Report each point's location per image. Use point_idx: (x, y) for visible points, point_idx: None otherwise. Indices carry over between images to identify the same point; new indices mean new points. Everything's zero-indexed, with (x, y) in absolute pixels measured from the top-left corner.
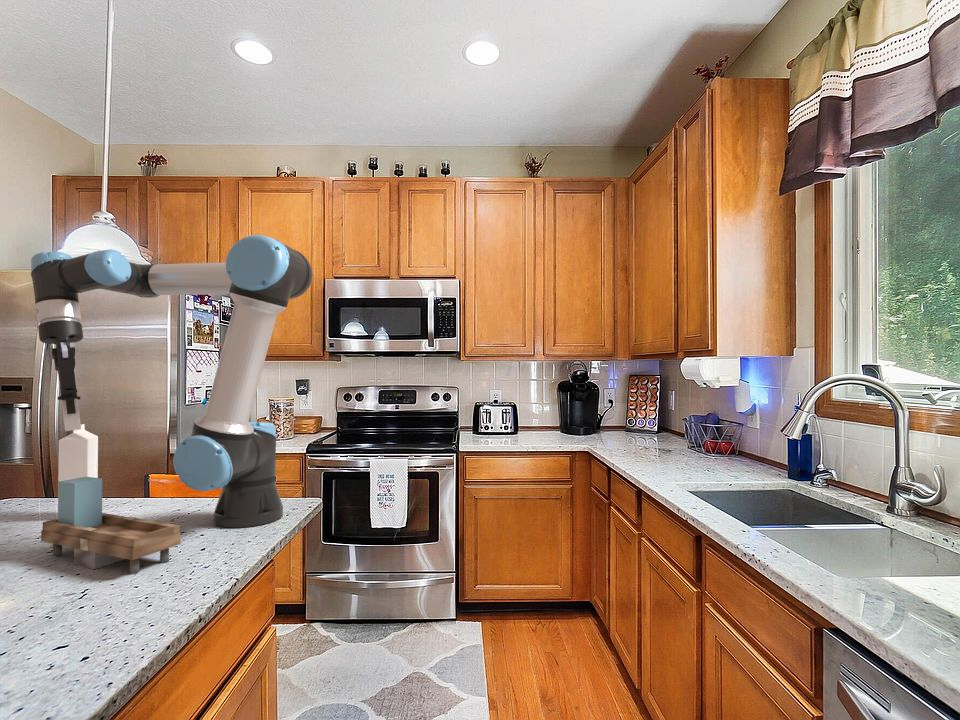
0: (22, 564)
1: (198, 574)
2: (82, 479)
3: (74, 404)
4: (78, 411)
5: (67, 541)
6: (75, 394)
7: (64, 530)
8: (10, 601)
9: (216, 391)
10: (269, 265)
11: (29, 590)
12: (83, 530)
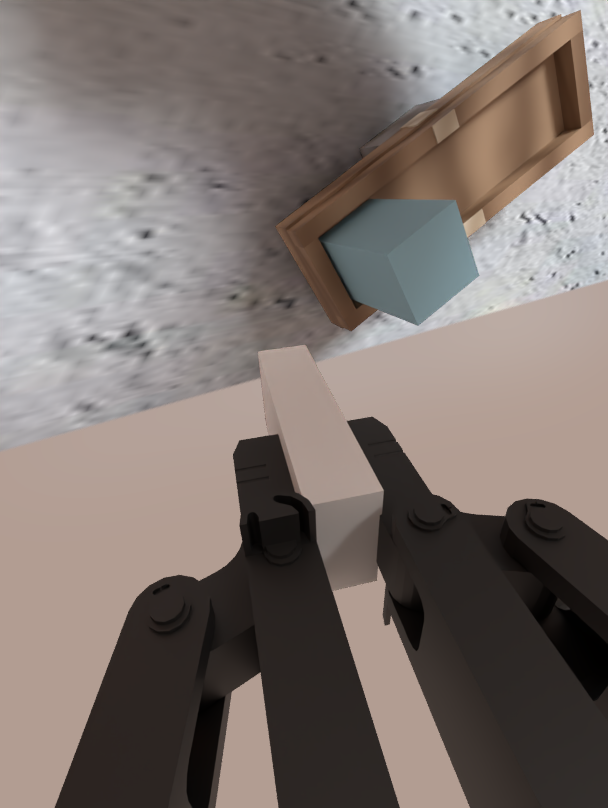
0: (343, 335)
1: (590, 23)
2: (430, 261)
3: (409, 460)
4: (340, 412)
5: None
6: (460, 520)
7: None
8: (495, 309)
9: None
10: None
11: (473, 295)
12: (468, 235)
